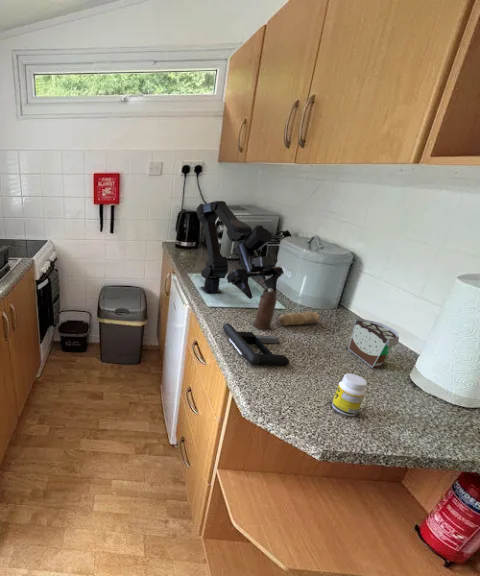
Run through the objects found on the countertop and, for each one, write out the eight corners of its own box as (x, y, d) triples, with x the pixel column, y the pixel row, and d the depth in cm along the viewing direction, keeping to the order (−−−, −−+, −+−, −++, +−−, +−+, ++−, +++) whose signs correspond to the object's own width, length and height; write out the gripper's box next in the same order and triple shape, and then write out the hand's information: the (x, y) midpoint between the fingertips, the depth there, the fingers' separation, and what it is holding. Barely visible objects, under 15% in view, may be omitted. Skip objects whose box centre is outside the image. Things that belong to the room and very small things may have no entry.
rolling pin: (282, 328, 107) (285, 317, 106) (274, 322, 111) (277, 312, 109) (320, 324, 110) (323, 314, 108) (311, 319, 113) (314, 309, 112)
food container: (399, 371, 85) (414, 340, 82) (376, 371, 85) (390, 339, 82) (364, 347, 97) (376, 318, 93) (344, 346, 97) (355, 317, 93)
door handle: (267, 324, 104) (219, 322, 103) (306, 360, 86) (249, 357, 85) (264, 333, 105) (217, 331, 104) (302, 370, 87) (246, 367, 86)
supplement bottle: (334, 398, 75) (345, 369, 72) (358, 409, 72) (371, 379, 69) (329, 408, 72) (340, 378, 69) (354, 420, 69) (367, 389, 66)
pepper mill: (251, 324, 109) (259, 286, 104) (260, 321, 111) (269, 284, 106) (263, 331, 105) (272, 292, 100) (272, 328, 107) (282, 289, 102)
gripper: (238, 246, 103) (253, 290, 97) (286, 244, 107) (304, 286, 101) (220, 262, 113) (233, 302, 107) (265, 259, 117) (280, 298, 111)
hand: (262, 297), depth 107 cm, fingers open, 9 cm apart
